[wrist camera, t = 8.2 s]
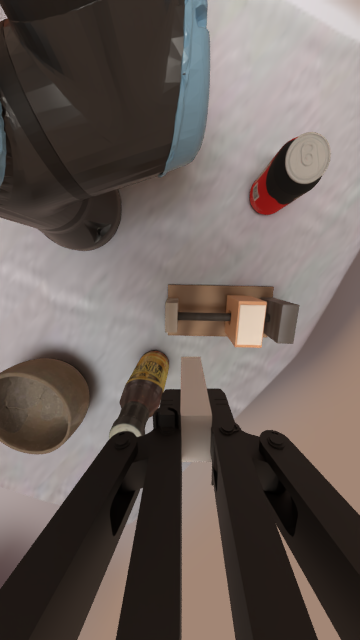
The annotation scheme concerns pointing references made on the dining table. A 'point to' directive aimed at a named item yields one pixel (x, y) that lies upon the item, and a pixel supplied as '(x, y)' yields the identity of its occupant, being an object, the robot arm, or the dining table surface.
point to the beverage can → (291, 173)
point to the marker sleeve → (245, 320)
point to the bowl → (41, 405)
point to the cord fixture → (224, 311)
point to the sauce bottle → (142, 394)
